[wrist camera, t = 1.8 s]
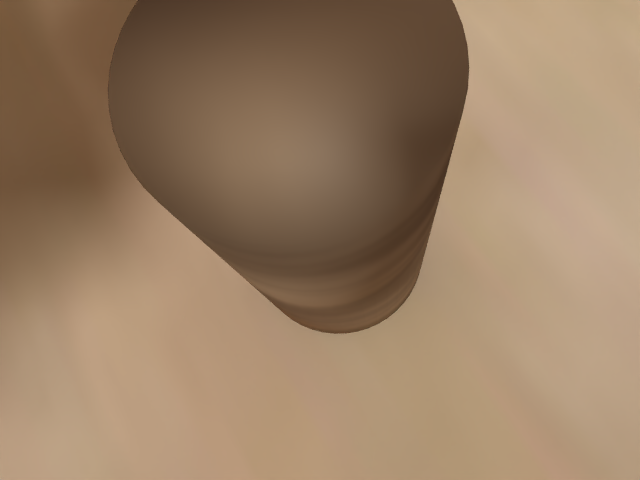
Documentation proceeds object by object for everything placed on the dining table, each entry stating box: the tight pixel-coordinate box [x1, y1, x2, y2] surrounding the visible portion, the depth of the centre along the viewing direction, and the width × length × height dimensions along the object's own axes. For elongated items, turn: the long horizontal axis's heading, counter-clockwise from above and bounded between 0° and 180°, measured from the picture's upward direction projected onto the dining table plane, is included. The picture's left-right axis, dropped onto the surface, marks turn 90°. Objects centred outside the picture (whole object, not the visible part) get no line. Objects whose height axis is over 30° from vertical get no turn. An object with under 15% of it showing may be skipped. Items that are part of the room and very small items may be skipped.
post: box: [108, 0, 469, 334], centre depth 15 cm, size 6×6×12 cm
